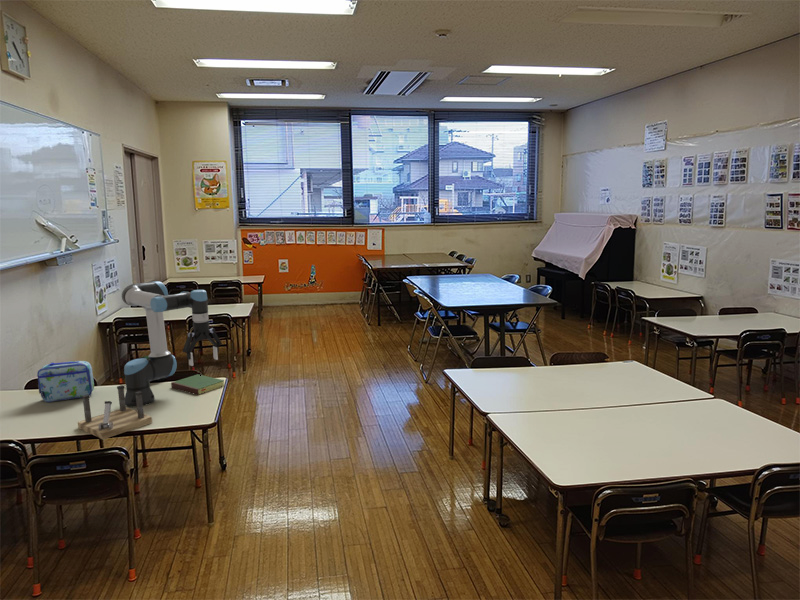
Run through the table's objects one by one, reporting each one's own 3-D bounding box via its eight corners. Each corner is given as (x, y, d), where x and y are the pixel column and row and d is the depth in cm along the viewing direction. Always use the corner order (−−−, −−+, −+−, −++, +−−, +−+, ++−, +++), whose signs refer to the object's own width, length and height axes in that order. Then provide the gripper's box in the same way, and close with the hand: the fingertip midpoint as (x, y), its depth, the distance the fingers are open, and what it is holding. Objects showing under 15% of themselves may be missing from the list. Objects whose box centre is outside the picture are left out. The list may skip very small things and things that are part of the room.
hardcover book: (171, 388, 326) (171, 382, 325) (198, 380, 341) (198, 374, 340) (198, 395, 312) (198, 389, 311) (225, 386, 328) (225, 380, 327)
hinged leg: (109, 428, 259) (107, 428, 257) (103, 429, 258) (101, 428, 256) (112, 402, 264) (110, 401, 261) (106, 402, 263) (104, 401, 261)
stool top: (78, 427, 268) (74, 396, 265) (126, 412, 287) (123, 383, 284) (102, 439, 254) (99, 406, 251) (152, 422, 273) (149, 391, 270)
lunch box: (38, 404, 301) (33, 367, 298) (44, 397, 311) (39, 362, 308) (92, 398, 309) (87, 362, 306) (95, 392, 319) (91, 357, 316)
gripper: (181, 326, 263) (184, 369, 266) (227, 317, 281) (229, 358, 285) (173, 324, 267) (176, 366, 271) (218, 316, 286) (221, 355, 290)
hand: (203, 362), depth 278 cm, fingers open, 13 cm apart
